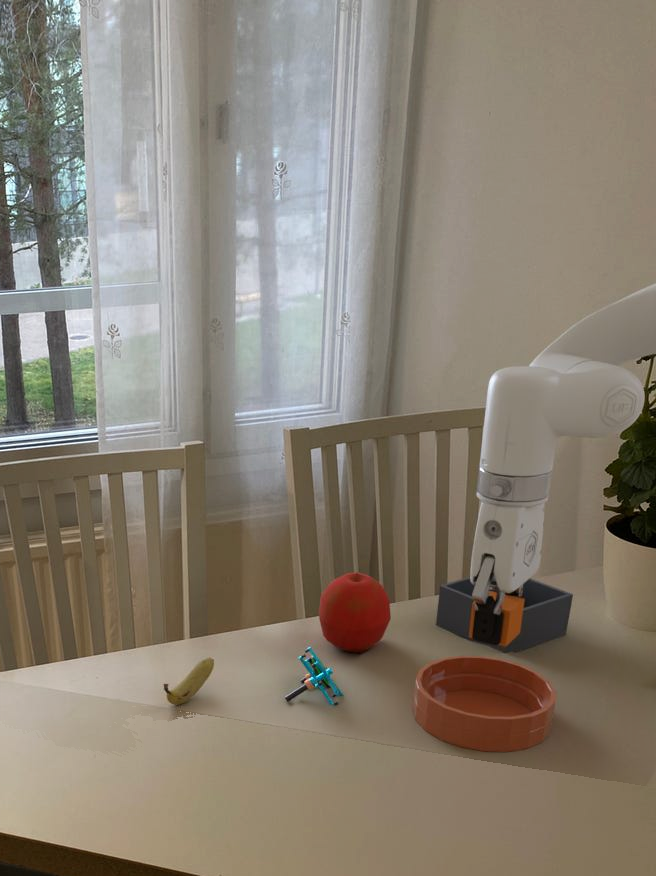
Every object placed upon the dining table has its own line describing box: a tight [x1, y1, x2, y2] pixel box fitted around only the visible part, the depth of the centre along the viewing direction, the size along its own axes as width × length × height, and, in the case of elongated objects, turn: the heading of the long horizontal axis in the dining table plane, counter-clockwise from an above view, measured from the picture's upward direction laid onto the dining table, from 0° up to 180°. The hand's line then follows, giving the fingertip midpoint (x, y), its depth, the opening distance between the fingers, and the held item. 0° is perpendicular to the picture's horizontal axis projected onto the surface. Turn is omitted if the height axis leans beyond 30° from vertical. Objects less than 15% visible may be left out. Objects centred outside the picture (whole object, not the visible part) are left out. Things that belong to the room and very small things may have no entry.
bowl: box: [412, 655, 557, 753], centre depth 112 cm, size 16×16×5 cm
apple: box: [318, 572, 391, 653], centre depth 131 cm, size 10×10×12 cm
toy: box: [469, 591, 525, 646], centre depth 107 cm, size 4×4×4 cm
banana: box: [163, 657, 215, 706], centre depth 119 cm, size 10×2×4 cm, turn 141°
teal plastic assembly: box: [284, 646, 345, 706], centre depth 120 cm, size 12×7×8 cm
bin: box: [435, 576, 574, 654], centre depth 135 cm, size 13×13×6 cm
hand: (494, 632), depth 108 cm, fingers closed on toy, 4 cm apart
